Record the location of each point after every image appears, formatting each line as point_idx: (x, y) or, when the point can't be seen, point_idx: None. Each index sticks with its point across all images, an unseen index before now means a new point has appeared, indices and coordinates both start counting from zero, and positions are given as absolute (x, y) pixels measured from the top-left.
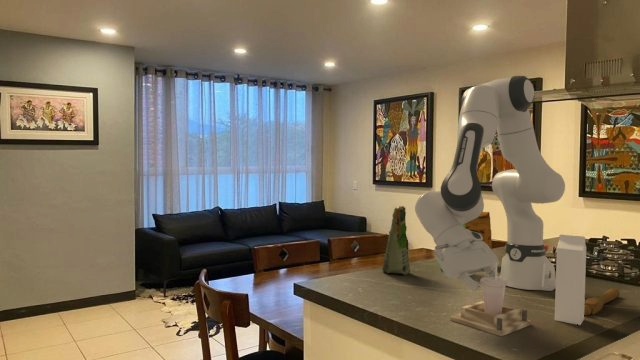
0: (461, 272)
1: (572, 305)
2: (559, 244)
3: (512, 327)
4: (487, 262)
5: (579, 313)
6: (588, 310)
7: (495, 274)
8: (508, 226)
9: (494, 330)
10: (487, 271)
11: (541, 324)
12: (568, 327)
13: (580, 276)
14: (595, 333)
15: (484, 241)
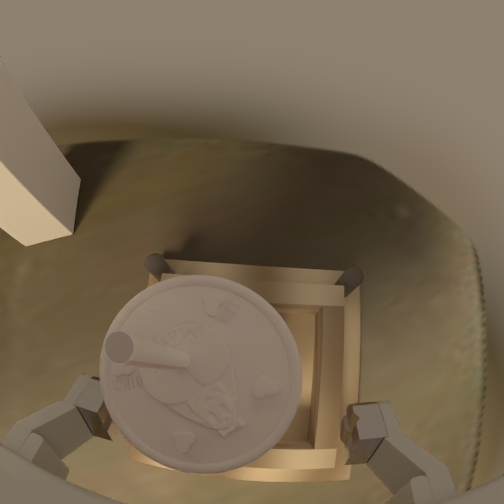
0: (491, 481)
1: (54, 165)
2: None
3: (282, 269)
4: (25, 488)
5: (66, 163)
6: None
7: (179, 359)
8: None
9: (359, 297)
10: (57, 471)
11: (132, 244)
12: (113, 188)
13: (14, 87)
14: (124, 140)
15: None
